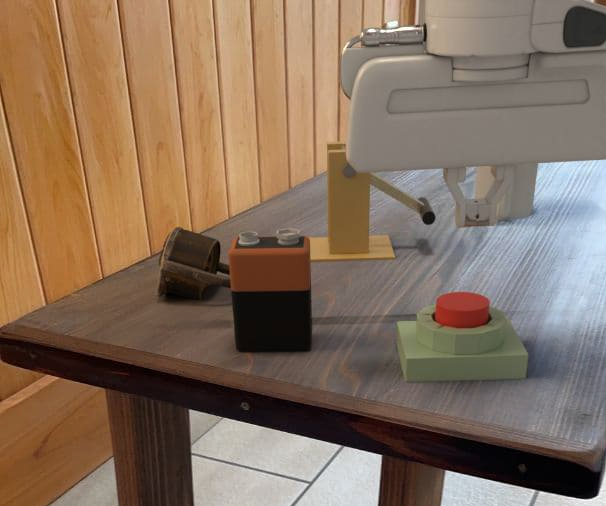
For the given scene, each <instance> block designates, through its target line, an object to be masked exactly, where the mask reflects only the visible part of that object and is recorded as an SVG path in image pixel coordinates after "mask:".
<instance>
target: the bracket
mask: <svg viewBox="0 0 606 506" xmlns="http://www.w3.org/2000/svg"><path fill="white" fill-rule="evenodd" d="M342 145H343V146H345V147H346V141H327V142H326V185H327V186H326V188H327V189H326V190H327V191H326V197H327V236H321V237H317V236H316V237H308V238H309V239H310V260H311V263H328V262H329V263H331V262H332V263H333V262H362V261H363V262H364V261H366V262H367V261H392V260H393V261H395V260H396V255H395V251H394V248H393V245H392V241H391V239H390V236H389V234H387V235H386V234H385V235H384V234H382V235H370V216H371V215H370V214H371V213H370V207H371V206H370V205H371V184H370V173H358V172H357V171H355V170H354V168H353V167H352V166H351V165H350V164H349V162H348V161H347V158H346V150H340V148H341V146H342Z"/></svg>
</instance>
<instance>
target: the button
mask: <svg viewBox="0 0 606 506" xmlns="http://www.w3.org/2000/svg"><path fill="white" fill-rule="evenodd" d="M435 304H436V311H435V322H437V323H439V324H440V325H442V326H447V327H453V328H459V329H460V328H476V327H480V326H483V325H487V323H488V314H489V306H491V305H490V304H491V301H490V299H489V298H488V297H487V296H485V295H483V294H480V293H475V292H469V291H454V292H453V291H452V292H447V293H443V294H441V295H439V296H438V297H437V298H436V300H435Z"/></svg>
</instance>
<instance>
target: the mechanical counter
mask: <svg viewBox="0 0 606 506" xmlns="http://www.w3.org/2000/svg"><path fill="white" fill-rule="evenodd" d="M221 248H222V247H221V242H220V240H219V239H217V238H213V237H210V236H207V235H204V234H201V233H198V232H195V231H191V230H189V229H184V228H183V227H181V226H176V227H174V228H173V229H172V230H171V231H170V232H169V233H168V235H167V236H166V238H165V241H163V245H162V249H161V252H160V254H159V259H158V265H159V273H158V279H157V285H156V290H155V294H154V295H155V296H156V297H159V298H160V297H162V296H164V295H166V294H168V293H170V294H172V295H176V296H180V297H184V298H188V299H194V300H199V301H201V300H203V298H202V292H203V291H204V290H205V288H207V287H210V286H218V287H223V288H227V289H231V281H230V277H228V276H230V269H229V264H227V263H223V262H221V261H220V259H221V253H222V252H221V251H222V249H221ZM218 273H220V274H218ZM221 274H225V275H226V276H224V275H221ZM227 275H228V276H227Z"/></svg>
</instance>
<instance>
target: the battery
mask: <svg viewBox="0 0 606 506" xmlns="http://www.w3.org/2000/svg"><path fill="white" fill-rule="evenodd" d="M300 232H301V231H300V229H297V228H290V227H288V228H282V229H276V235H270V236H269V235H264V236H263V235H262V236H261V235H260V236H258V232H256V231H244V232H240V233H239V236H237V237H235V238H233V240H232V243H231V245H230V248H229V251H228V265H229V269H230V275H229V278H230V281H231V288H230V291H231V306H232V317H233V330H234V331H233V332H234V342H235V343H234V344H235V349H236V350H237V351H239V352H245V353H246V352H307V351H309V350H310V349H311V347H312V337H313V314H312V312H313V309H312V267H311V266H312V264H311V263H312V262H311V260H310V239H309V238H310V237H308V236H307V235H301V233H300Z"/></svg>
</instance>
